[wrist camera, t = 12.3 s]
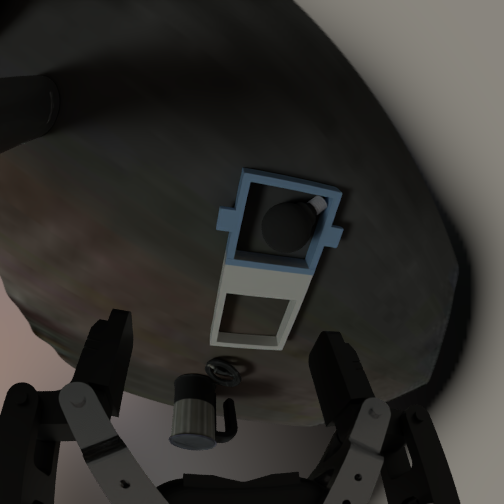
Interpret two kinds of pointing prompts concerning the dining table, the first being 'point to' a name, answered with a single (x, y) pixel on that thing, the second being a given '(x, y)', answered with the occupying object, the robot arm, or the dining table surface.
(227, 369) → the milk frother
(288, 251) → the light bulb
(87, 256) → the dining table surface
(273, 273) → the two-tone divided frame
